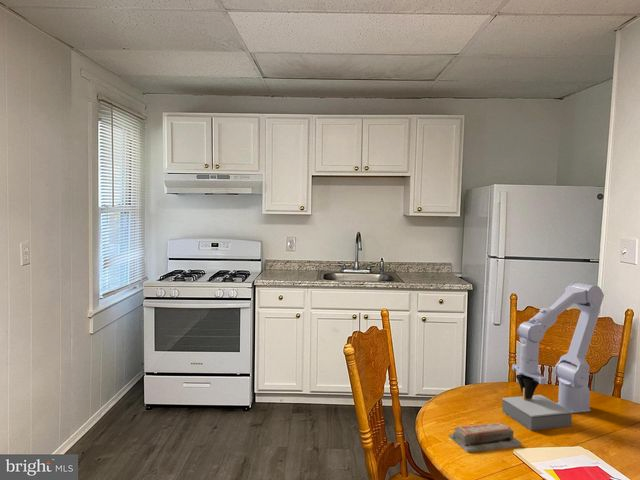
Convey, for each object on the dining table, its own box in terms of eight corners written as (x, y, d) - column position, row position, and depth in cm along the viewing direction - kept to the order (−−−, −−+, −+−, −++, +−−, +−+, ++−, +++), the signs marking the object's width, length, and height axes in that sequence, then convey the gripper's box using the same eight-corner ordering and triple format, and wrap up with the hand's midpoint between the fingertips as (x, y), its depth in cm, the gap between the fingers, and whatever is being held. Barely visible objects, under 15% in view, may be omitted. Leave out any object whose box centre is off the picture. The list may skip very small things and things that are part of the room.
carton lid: (540, 396, 164) (541, 383, 164) (572, 413, 150) (572, 399, 150) (502, 399, 160) (503, 386, 160) (531, 417, 146) (532, 403, 146)
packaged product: (467, 437, 132) (449, 422, 141) (467, 454, 132) (448, 438, 142) (522, 431, 136) (501, 417, 146) (521, 447, 137) (500, 432, 146)
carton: (539, 408, 164) (540, 396, 164) (571, 426, 151) (571, 414, 150) (502, 411, 161) (502, 400, 160) (531, 430, 147) (531, 418, 147)
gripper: (505, 352, 165) (503, 390, 166) (533, 365, 151) (531, 407, 152) (522, 351, 167) (520, 389, 167) (552, 364, 153) (550, 405, 153)
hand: (527, 397), depth 160 cm, fingers closed
